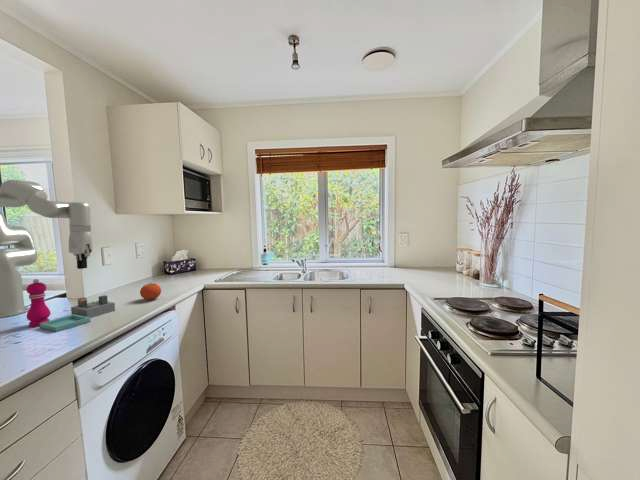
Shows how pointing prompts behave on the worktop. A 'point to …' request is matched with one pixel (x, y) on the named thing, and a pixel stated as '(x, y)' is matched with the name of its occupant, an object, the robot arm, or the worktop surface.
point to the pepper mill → (37, 304)
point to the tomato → (150, 291)
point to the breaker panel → (93, 309)
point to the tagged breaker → (82, 302)
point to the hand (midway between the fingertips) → (82, 268)
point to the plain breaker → (103, 299)
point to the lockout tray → (64, 323)
